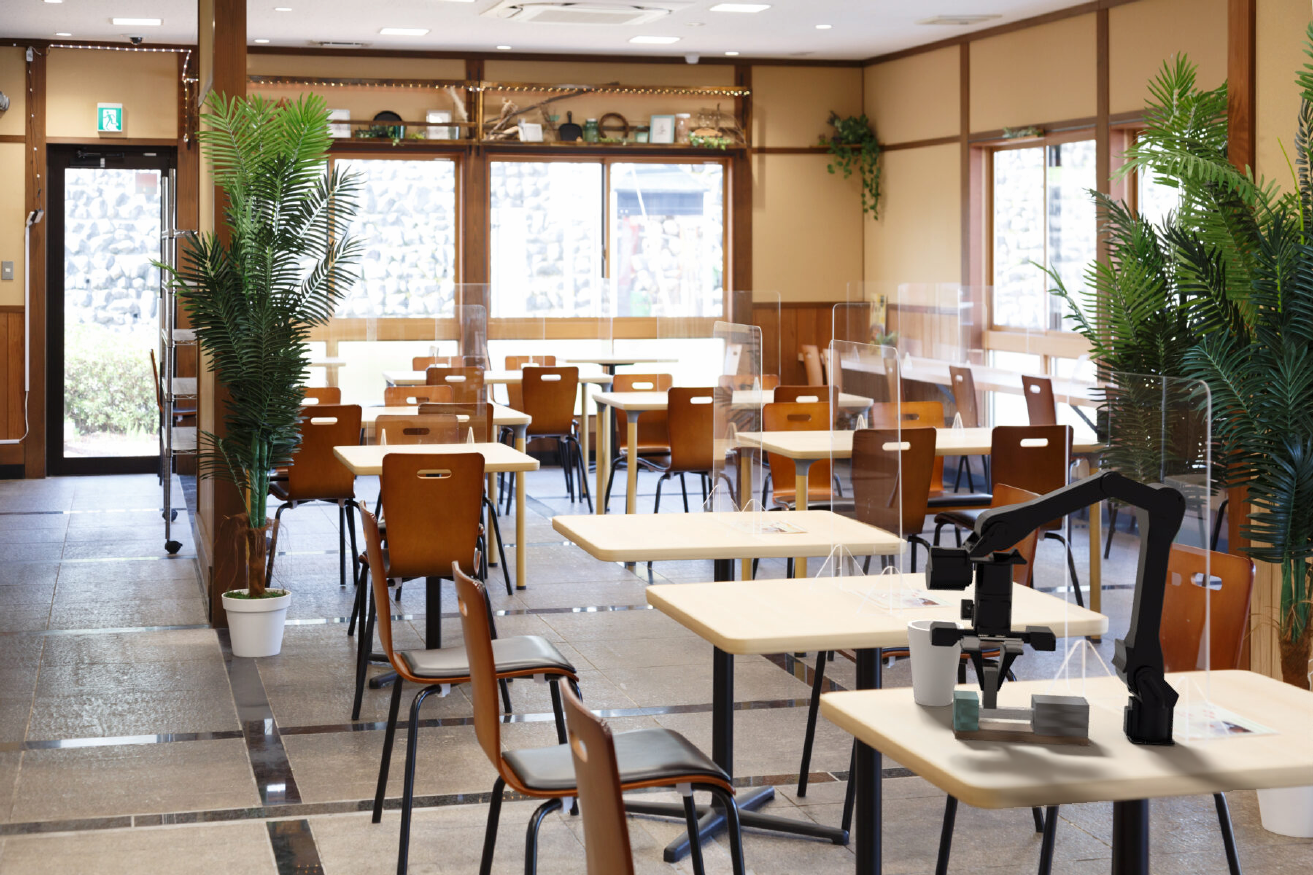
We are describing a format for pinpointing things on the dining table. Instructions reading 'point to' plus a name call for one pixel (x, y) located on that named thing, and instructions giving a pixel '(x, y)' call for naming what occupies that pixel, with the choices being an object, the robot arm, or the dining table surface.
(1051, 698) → the wooden long base
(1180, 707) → the dining table surface
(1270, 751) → the dining table surface
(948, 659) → the foam cup
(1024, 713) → the angled grey metal bar
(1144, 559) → the robot arm
